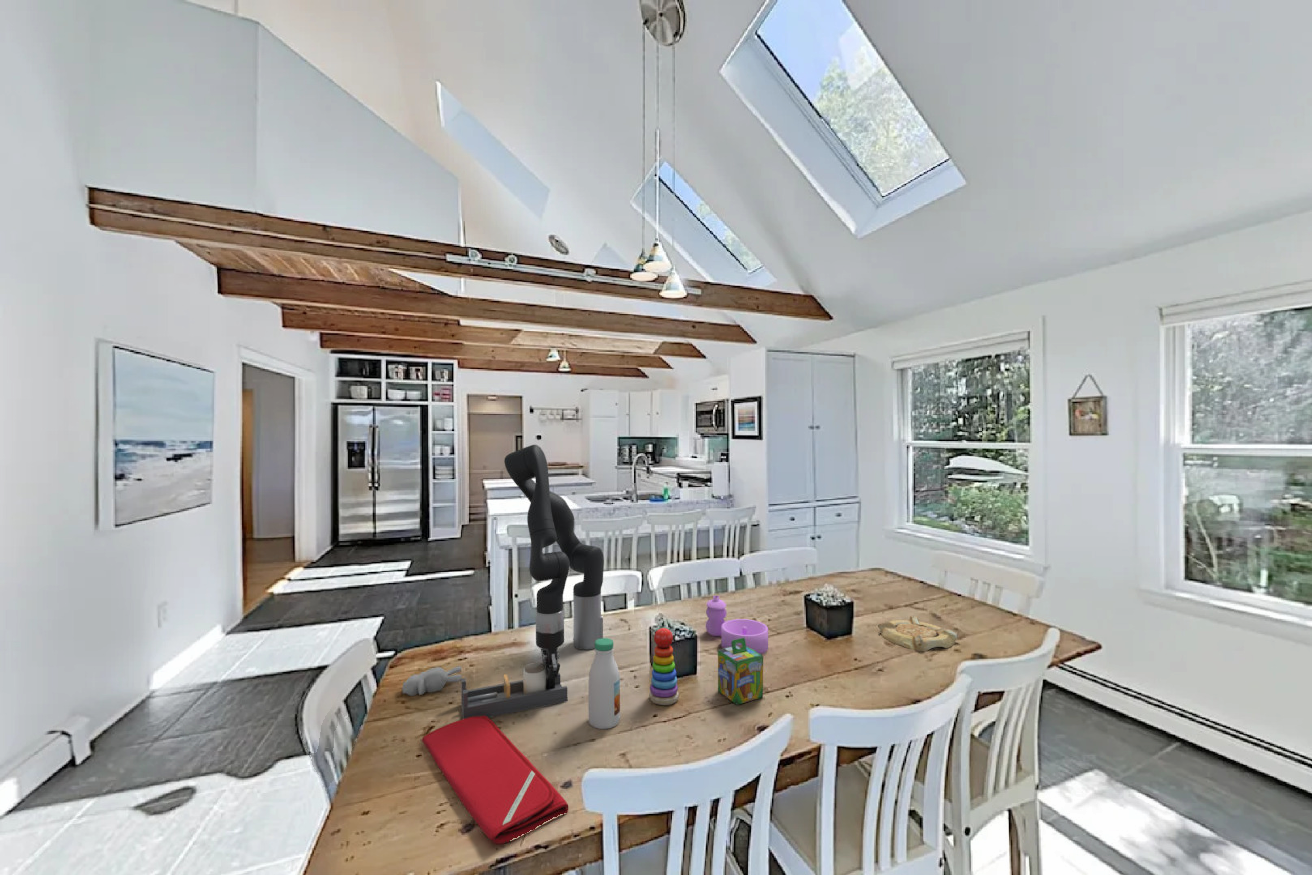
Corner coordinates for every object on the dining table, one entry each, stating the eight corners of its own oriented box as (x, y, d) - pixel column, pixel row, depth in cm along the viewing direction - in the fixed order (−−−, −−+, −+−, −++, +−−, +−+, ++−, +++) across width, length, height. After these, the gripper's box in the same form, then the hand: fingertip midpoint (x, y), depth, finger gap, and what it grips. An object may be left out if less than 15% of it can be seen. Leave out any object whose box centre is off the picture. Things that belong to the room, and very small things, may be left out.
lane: (559, 685, 149) (559, 660, 149) (567, 701, 140) (567, 674, 140) (461, 704, 139) (461, 677, 138) (463, 722, 130) (463, 694, 130)
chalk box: (736, 706, 137) (736, 649, 137) (716, 691, 145) (716, 637, 145) (764, 697, 141) (764, 643, 141) (743, 683, 150) (743, 631, 149)
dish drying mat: (488, 721, 131) (487, 706, 131) (571, 813, 100) (571, 794, 100) (421, 745, 121) (421, 729, 121) (490, 856, 90) (490, 834, 90)
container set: (777, 648, 174) (777, 608, 174) (745, 660, 165) (745, 618, 165) (724, 625, 194) (724, 590, 194) (693, 635, 185) (692, 598, 185)
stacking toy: (685, 698, 141) (685, 629, 141) (664, 710, 135) (664, 637, 135) (663, 688, 147) (663, 621, 146) (643, 699, 141) (642, 629, 141)
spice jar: (544, 687, 145) (544, 660, 145) (547, 697, 140) (547, 669, 140) (522, 691, 143) (521, 663, 143) (524, 702, 138) (524, 673, 137)
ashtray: (971, 653, 170) (971, 637, 170) (897, 652, 170) (897, 637, 170) (934, 625, 194) (934, 612, 194) (868, 625, 194) (869, 612, 194)
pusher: (506, 692, 142) (506, 674, 142) (510, 704, 136) (510, 685, 135) (463, 701, 137) (463, 682, 137) (465, 713, 131) (465, 693, 131)
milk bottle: (607, 733, 125) (607, 650, 125) (582, 724, 129) (581, 643, 129) (626, 718, 131) (625, 638, 131) (601, 709, 136) (601, 632, 135)
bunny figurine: (403, 672, 149) (460, 657, 154) (406, 689, 149) (462, 674, 154) (400, 687, 140) (460, 671, 145) (403, 705, 140) (462, 689, 145)
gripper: (531, 620, 147) (531, 682, 147) (541, 637, 135) (541, 704, 135) (558, 616, 150) (558, 677, 150) (569, 632, 138) (570, 698, 138)
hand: (550, 690), depth 143 cm, fingers closed
